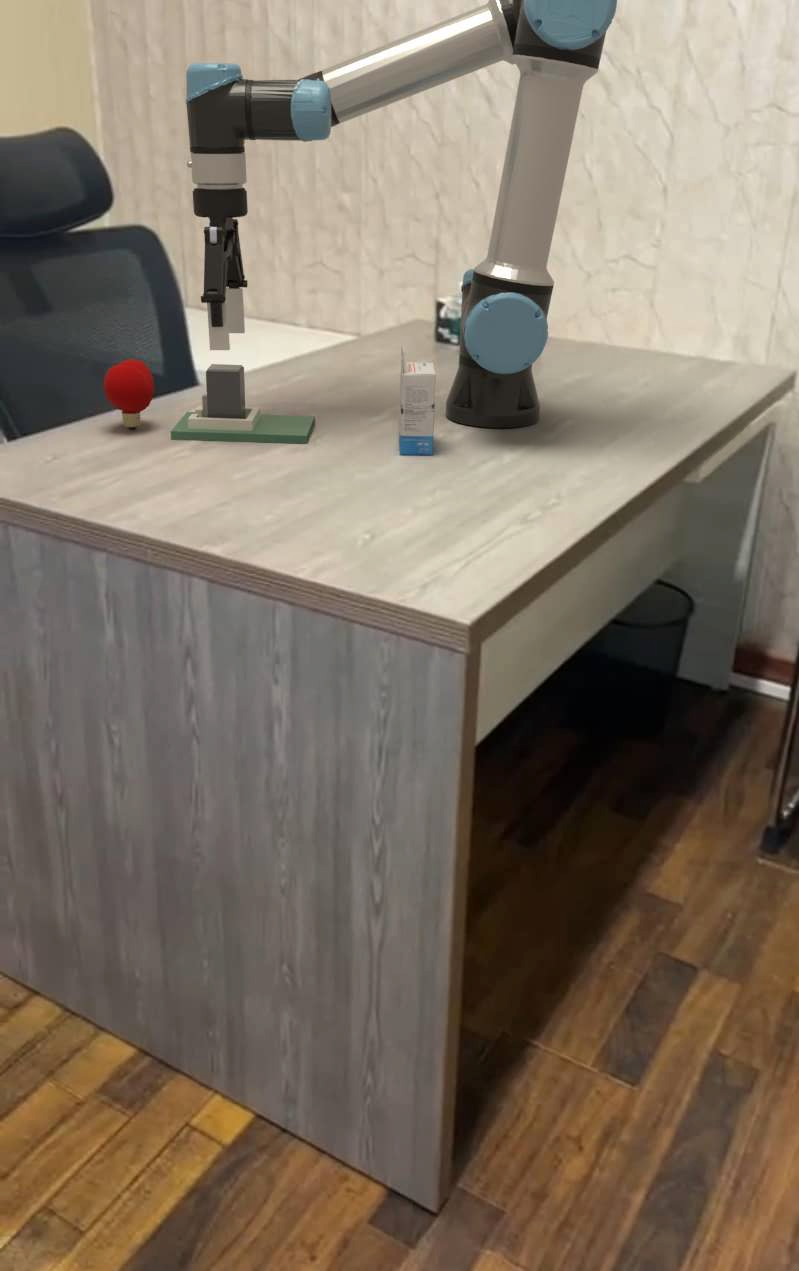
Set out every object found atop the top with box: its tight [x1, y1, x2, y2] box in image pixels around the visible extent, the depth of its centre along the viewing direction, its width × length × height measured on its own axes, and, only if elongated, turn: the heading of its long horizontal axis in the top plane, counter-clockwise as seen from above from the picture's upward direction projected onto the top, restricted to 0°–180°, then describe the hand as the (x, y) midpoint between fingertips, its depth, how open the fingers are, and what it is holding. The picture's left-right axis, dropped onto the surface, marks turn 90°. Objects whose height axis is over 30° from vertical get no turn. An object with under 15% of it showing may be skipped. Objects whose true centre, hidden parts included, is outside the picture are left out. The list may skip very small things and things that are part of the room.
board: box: [170, 404, 316, 445], centre depth 176 cm, size 20×12×3 cm, turn 88°
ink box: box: [397, 341, 437, 456], centre depth 167 cm, size 8×5×15 cm, turn 2°
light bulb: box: [103, 359, 155, 431], centre depth 174 cm, size 9×7×10 cm
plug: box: [201, 363, 246, 419], centre depth 174 cm, size 6×4×8 cm, turn 88°
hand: (228, 341), depth 171 cm, fingers open, 13 cm apart
